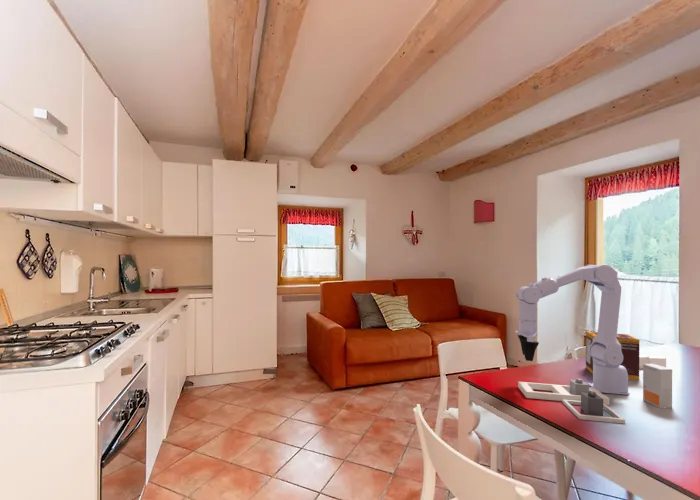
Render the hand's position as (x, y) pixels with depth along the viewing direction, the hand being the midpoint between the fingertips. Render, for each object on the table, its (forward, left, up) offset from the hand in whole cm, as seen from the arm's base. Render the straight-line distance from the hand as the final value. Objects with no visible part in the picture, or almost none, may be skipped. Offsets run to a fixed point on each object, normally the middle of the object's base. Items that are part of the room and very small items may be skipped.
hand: (527, 357), depth 125 cm
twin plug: (-14, +7, -10) cm, 19 cm away
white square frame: (-12, +19, -10) cm, 25 cm away
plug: (-12, +19, -10) cm, 25 cm away
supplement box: (-38, -24, -10) cm, 46 cm away
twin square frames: (-8, +7, -10) cm, 15 cm away
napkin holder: (-58, -36, -11) cm, 69 cm away
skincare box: (-36, +7, -10) cm, 38 cm away
